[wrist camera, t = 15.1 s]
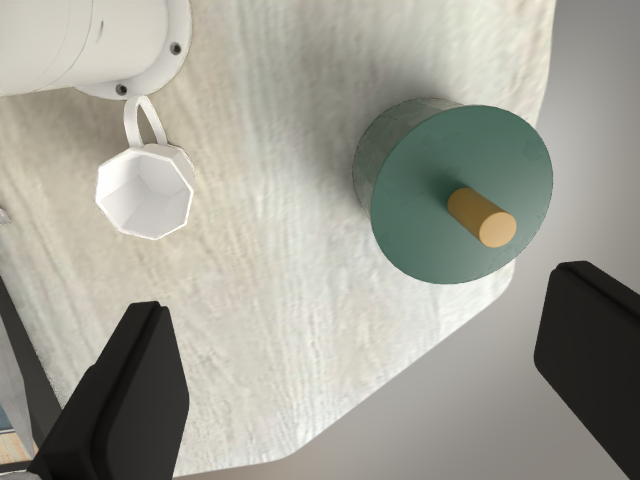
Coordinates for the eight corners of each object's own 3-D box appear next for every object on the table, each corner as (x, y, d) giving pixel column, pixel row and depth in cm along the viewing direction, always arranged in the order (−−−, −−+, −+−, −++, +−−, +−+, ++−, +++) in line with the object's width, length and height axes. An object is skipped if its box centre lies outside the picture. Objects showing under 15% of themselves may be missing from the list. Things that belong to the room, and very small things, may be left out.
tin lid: (367, 110, 28) (391, 123, 22) (558, 97, 29) (631, 108, 23) (367, 284, 33) (387, 332, 28) (528, 269, 34) (580, 312, 29)
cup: (139, 208, 38) (107, 246, 31) (106, 94, 34) (61, 107, 27) (215, 200, 39) (202, 235, 31) (193, 86, 34) (172, 97, 27)
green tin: (351, 102, 36) (375, 116, 28) (489, 94, 37) (555, 105, 28) (353, 234, 41) (374, 281, 33) (475, 224, 42) (526, 267, 34)
